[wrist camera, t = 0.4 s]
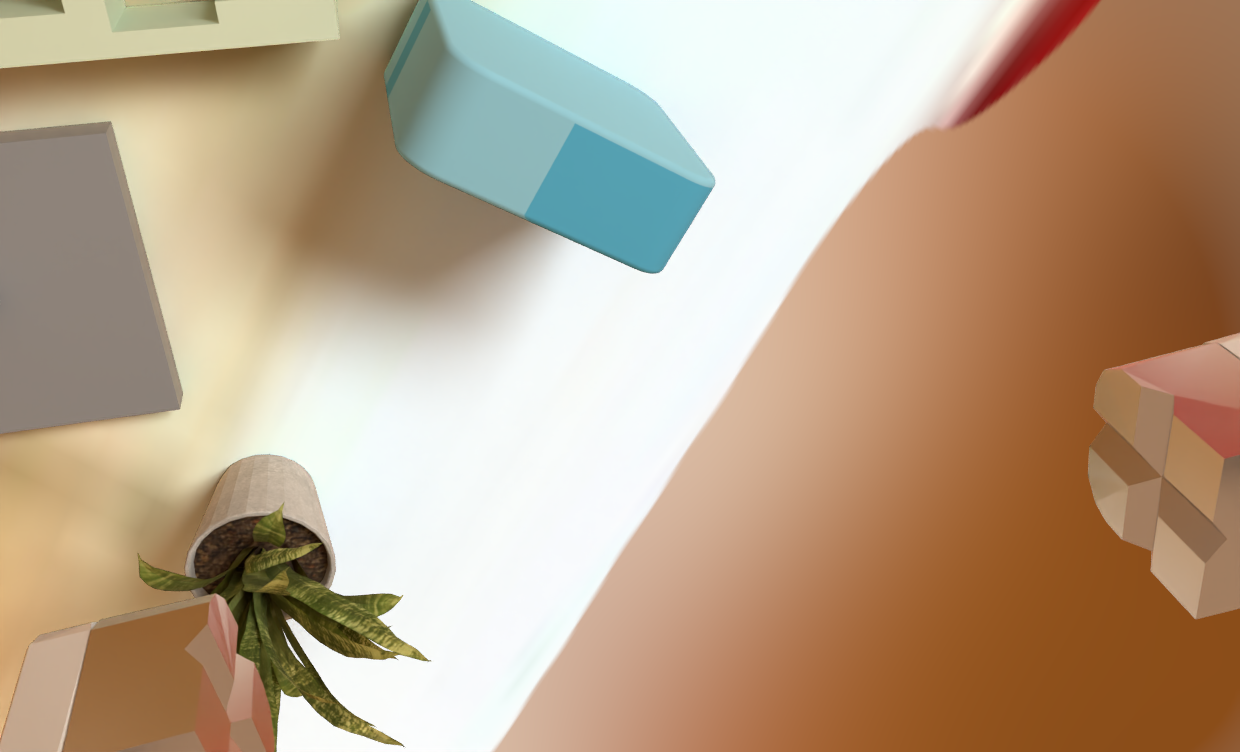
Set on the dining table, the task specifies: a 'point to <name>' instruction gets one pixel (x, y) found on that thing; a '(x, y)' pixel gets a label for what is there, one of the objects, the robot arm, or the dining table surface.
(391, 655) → the house plant
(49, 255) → the boss board
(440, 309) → the dining table surface
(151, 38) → the cream rectangular bar
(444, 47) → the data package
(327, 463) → the dining table surface
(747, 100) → the dining table surface
